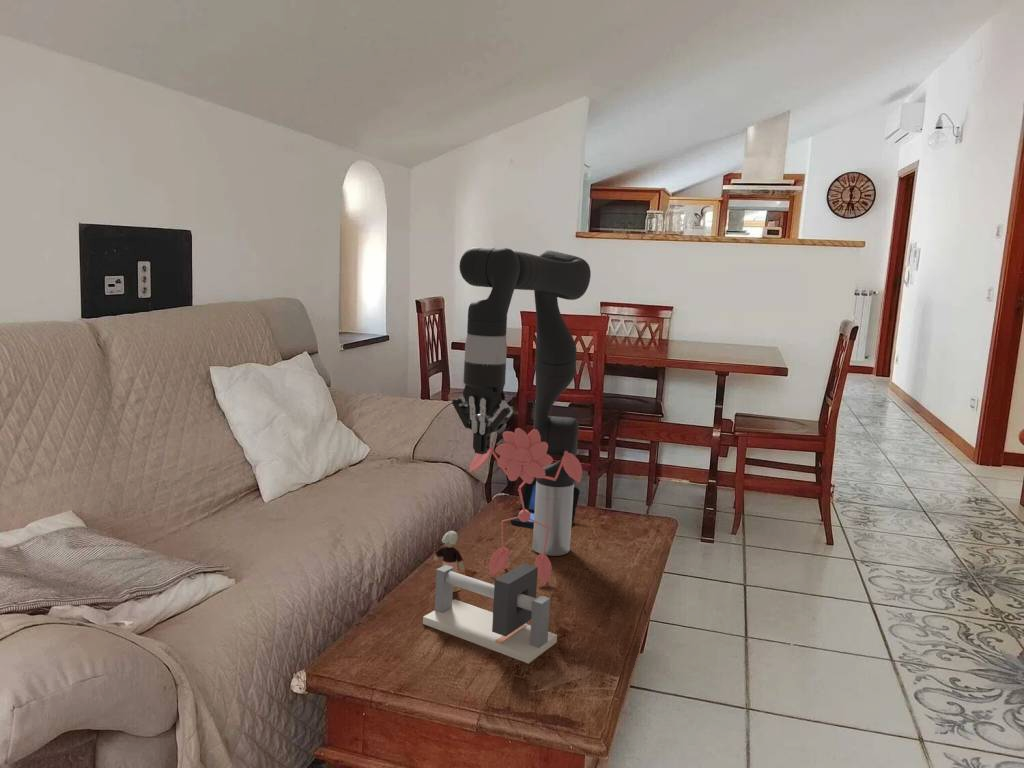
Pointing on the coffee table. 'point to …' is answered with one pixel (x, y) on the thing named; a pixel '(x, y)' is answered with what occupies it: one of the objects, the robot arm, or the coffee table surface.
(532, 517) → the handheld game console
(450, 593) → the pipe stand
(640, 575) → the coffee table surface
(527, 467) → the flower
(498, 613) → the grey plate with hole
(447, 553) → the grandmother figurine
